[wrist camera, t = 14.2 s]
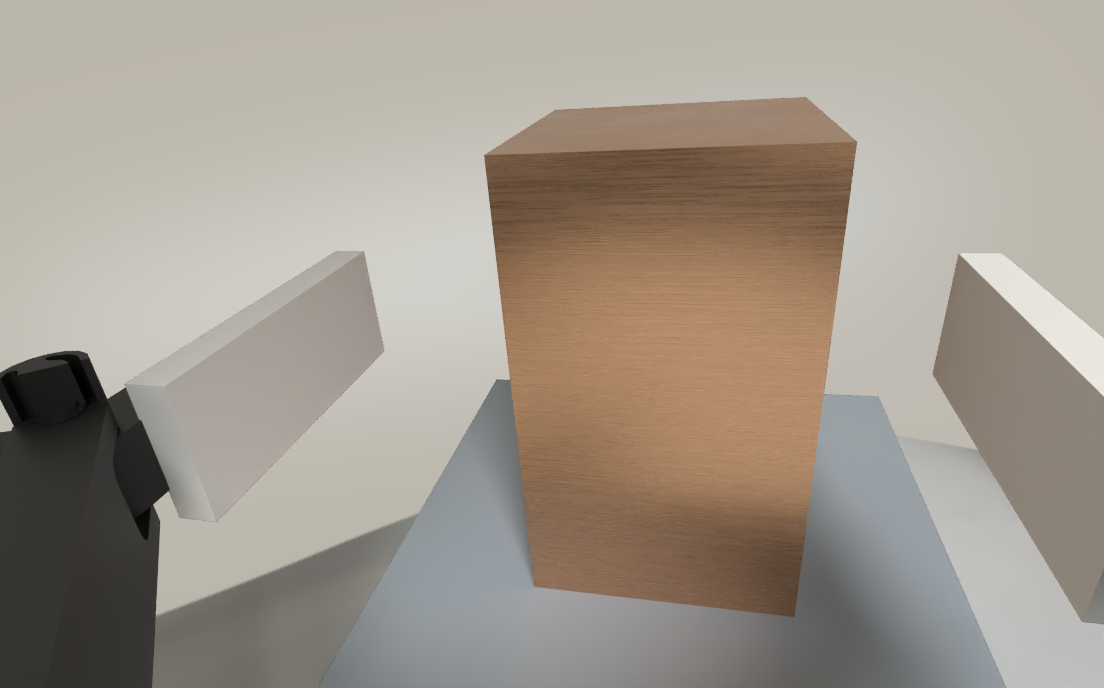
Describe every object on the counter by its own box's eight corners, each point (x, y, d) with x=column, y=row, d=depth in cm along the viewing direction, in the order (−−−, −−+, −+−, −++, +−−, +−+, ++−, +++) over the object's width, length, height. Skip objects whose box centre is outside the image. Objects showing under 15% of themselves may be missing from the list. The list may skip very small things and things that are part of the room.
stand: (846, 579, 30) (878, 396, 26) (962, 1061, 16) (1074, 842, 12) (517, 545, 34) (496, 379, 29) (383, 917, 20) (305, 707, 16)
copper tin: (771, 456, 23) (805, 97, 18) (794, 617, 17) (857, 141, 12) (577, 444, 24) (555, 109, 19) (534, 586, 18) (484, 155, 13)
